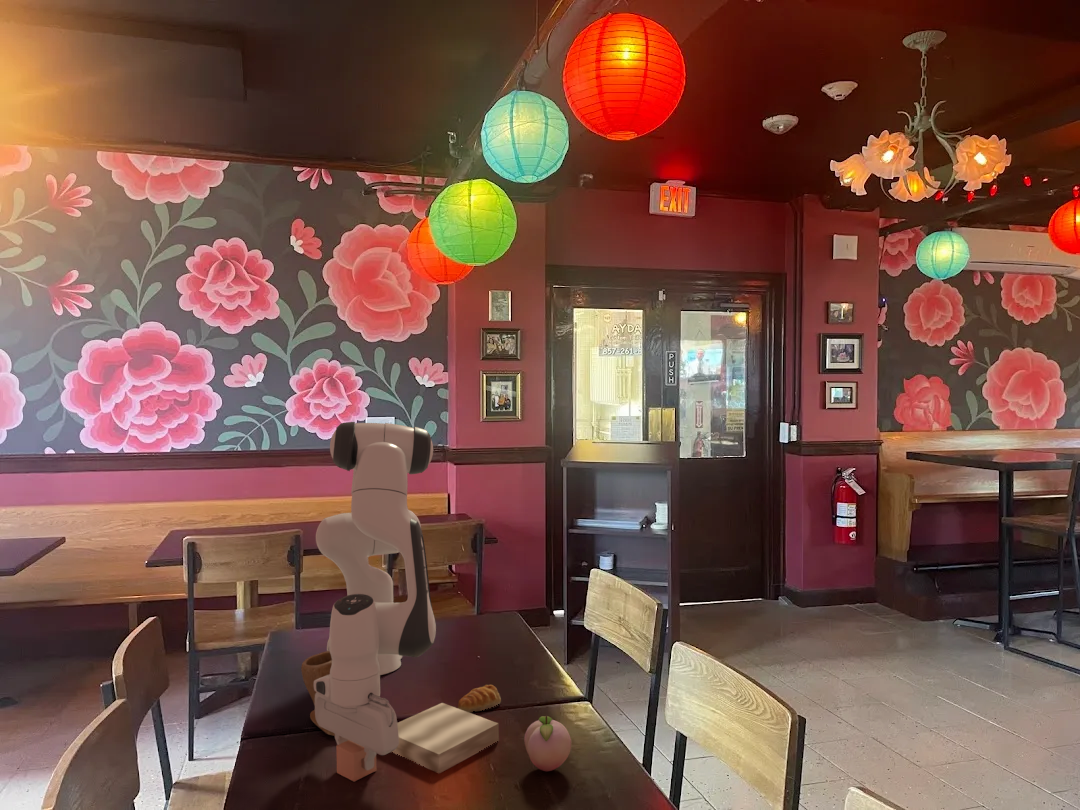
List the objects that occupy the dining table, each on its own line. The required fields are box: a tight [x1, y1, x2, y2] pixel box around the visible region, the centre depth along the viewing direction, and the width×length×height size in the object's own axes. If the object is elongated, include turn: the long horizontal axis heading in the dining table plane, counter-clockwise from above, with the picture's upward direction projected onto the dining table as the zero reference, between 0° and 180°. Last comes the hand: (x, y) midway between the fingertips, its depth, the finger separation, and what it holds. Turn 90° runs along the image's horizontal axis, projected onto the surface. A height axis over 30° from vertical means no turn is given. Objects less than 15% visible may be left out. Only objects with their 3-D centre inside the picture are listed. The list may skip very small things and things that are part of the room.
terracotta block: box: [335, 740, 377, 782], centre depth 140 cm, size 5×5×5 cm
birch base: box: [391, 702, 500, 774], centre depth 150 cm, size 16×16×4 cm
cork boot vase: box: [301, 650, 335, 737], centre depth 158 cm, size 15×12×15 cm
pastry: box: [457, 684, 502, 713], centre depth 168 cm, size 9×7×4 cm
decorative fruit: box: [523, 715, 572, 772], centre depth 139 cm, size 9×8×10 cm
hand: (356, 762), depth 140 cm, fingers closed on terracotta block, 5 cm apart
